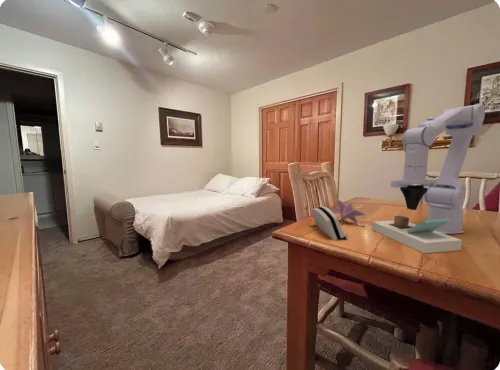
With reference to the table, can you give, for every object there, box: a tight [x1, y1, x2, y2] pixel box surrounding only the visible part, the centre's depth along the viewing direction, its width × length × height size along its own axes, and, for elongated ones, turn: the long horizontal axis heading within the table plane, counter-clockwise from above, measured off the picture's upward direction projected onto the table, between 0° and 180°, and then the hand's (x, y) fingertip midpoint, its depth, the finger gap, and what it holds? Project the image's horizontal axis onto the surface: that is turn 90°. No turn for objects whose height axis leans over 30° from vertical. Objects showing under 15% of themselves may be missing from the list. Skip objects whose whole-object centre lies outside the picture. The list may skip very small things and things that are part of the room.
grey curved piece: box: [311, 205, 349, 241], centre depth 76 cm, size 17×5×10 cm, turn 3°
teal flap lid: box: [407, 219, 450, 233], centre depth 64 cm, size 8×1×7 cm
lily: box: [331, 198, 366, 226], centre depth 86 cm, size 12×12×10 cm
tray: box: [371, 220, 463, 254], centre depth 69 cm, size 12×20×3 cm, turn 9°
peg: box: [393, 215, 410, 229], centre depth 73 cm, size 4×4×6 cm
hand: (411, 209), depth 69 cm, fingers closed
